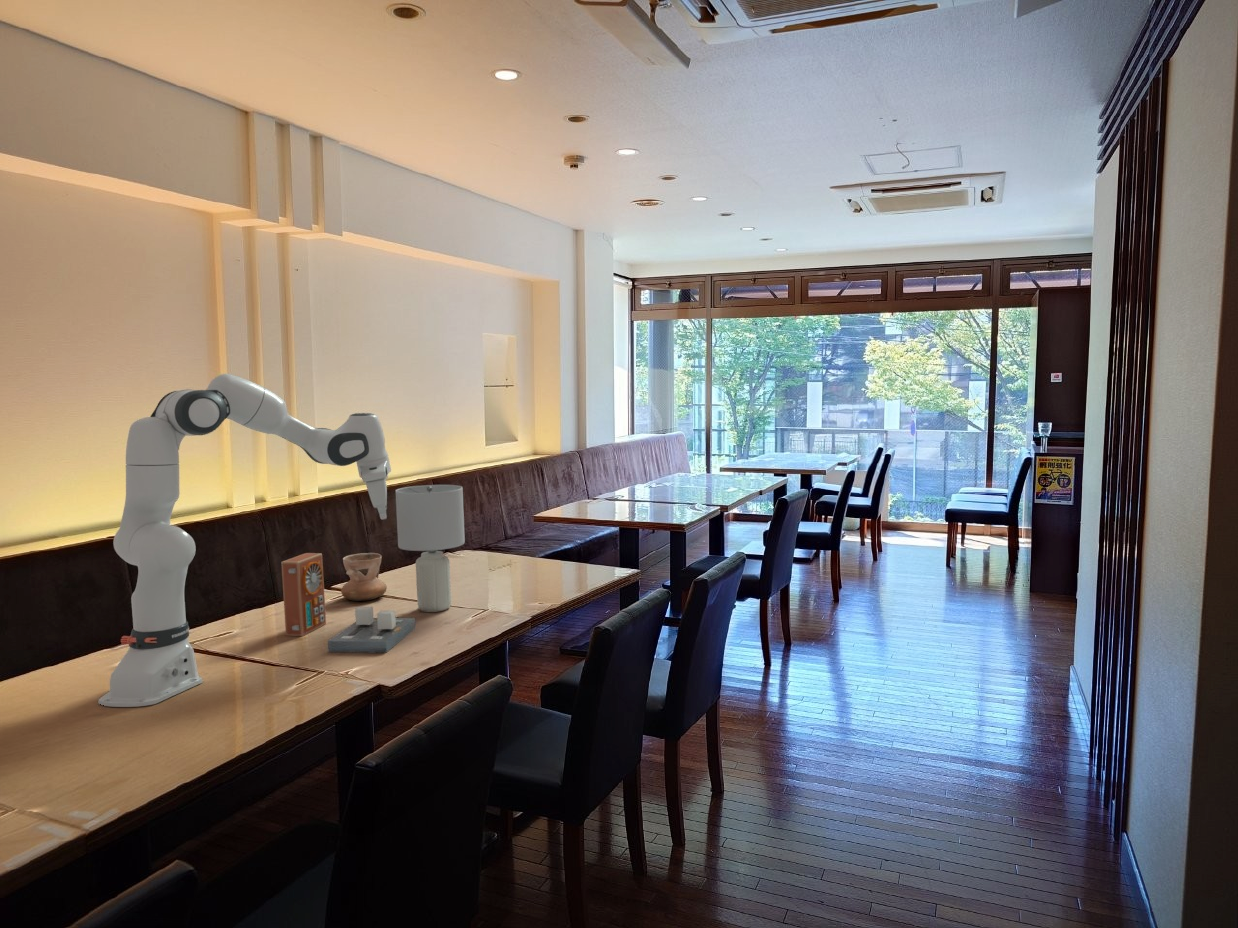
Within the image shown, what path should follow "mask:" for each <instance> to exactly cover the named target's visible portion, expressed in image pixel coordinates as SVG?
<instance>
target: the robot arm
mask: <svg viewBox="0 0 1238 928" xmlns="http://www.w3.org/2000/svg"><path fill="white" fill-rule="evenodd" d="M287 406H288V405H287V404H286V401H285V400H284V399H283V398H281V397H280V396H279V395H277V394H276V393H274V392H273V391H271V390H270V389H268V388H266V387H264V386H262V385H260V384H258V383H255V382H253V381H251V380H248V379H246V378H244V377H241V376H237V375H234V374H231V373H221V374H219V375H217V376H215V377H214V378H213V379H212V380H211V381H210V382H209V384H208V386H207V387H206V389H188V388H187V389H181V390H173V391H170V392H168V393H167V394H165V395H164V396H163V397H161V399H160V400H159V402H158V403H157V405H156V407H155V408H154V410H153V412H152V413H151V415H150V416H147V417H143V418H139V419H137V420H135V421H134V422H132V424H131V425H130V427H129V431H128V434H127V439H126V440H127V441H126V450H125V500H124V506H123V512H122V516H121V521H120V525H119V529H118V530H117V531H116V533H115V535H114V537H113V541H112V542H113V543H112V544H113V549H114V551H115V552H116V554H117V555H118V556H119V557H120V558H121V559H122V560H123V561H125V562H126V563H128V564H129V565H132V566H136V567H137V570H138V574H137V582H136V586H135V589H134V591H133V592H132V594H131V598H130V600H131V601H130V603H131V613H132V614H131V616H132V626H133V628H132V629H131V632H130V635H123V636H121V638H120V643H121V645H124V646H125V645H128V646H129V648H128V650H127V651H126V653H125V654H124V655H123V657H122V659H121V660H120V662H119V663H118V664H117V666H116V667H115V669H114V670H113V671H112V672H111V675H110V678H109V691H108V692H106V693H105V694H104V695H103V696H101V697H100V698H99V699H98V702H97V704H98V705H100V704H101V705H100V706H103V705H104V706H103V707H110V708H111V707H113V708H135V707H137V708H139V707H146V706H152V705H156V704H158V703H161V702H162V701H165V700H168V699H169V698H172V697H173V696H175V695H178V694H180V693H182V692H185V691H187V690H188V689H189V690H190V689H192V688H193V687H196V686H197V685H200V684H202V683H203V682H204V681H203V679H202V678H203V677H202V676H199V673H198V666H197V661H196V654H195V651H194V647H193V646H192V645H191V643H190V641H189V638H188V637H189V636H190V626H189V621H187V618H186V602H185V586H186V578H187V574H188V568H189V566H190V564H191V563H192V561H193V559H194V557H195V555H196V548H197V547H196V542H195V540H194V538H193V537H192V535H190V534H189V533H187V531H185V530H184V529H182V528H181V527H180V526H177V525H172V524H171V519H172V518H171V517H172V514H173V511H174V506H175V505H176V502H177V501H178V499H179V498H180V494H181V493H180V455H179V454H180V453H179V450H180V447H181V442H182V441H183V439H184V438H185V437H186V436H187V437H188V436H191V437H192V436H205V435H209V434H211V433H213V432H214V431H216V430H217V429H218V428H219V427H220V426H221V425H222V423H223V422H224V421H225V420H226V419H228V420H230V421H233V422H235V423H237V424H239V425H241V426H244V427H245V428H248V429H250V430H253V431H256V432H258V433H263V434H267V435H276V436H278V437H280V438H282V439H284V440H286V441H287V442H290V443H293V444H294V445H296V446H298V447H299V448H301V449H302V450H303V451H304V452H305V454H306V455H307V456H308V457H309V458H310V459H311V460H312V461H314V462H315V463H318V464H322V465H324V464H325V465H332V466H338V467H345V466H349V465H352V464H355V463H356V466H357V470H358V476H359V478H361V479H362V483H365V485H366V486H365V487H366V489H367V492H368V495H369V499H370V501H371V504H372V506H373V508H374V509H377V511H378V514H379V519H381V520H387V517H388V515H387V509H388V506H387V504H388V501H387V499H388V491H387V490H388V487H387V479H388V477H389V474H390V473H391V472H392V467H391V464H390V458H389V454H388V452H387V450H386V445H385V444H386V439H385V435H384V430H383V427H382V424H381V421H380V419H379V417H378V416H377V414H374V413H370V412H357V413H356V412H355V413H352V414H349V417H348V419H346V420H345V422H344V423H343V424H341V425H340V426H339V427H338V428H335V429H330V428H326V427H325V428H324V427H313V426H311V425H309V424H307V423H305V422H302V421H301V420H299V419H297V418H295V417H293V416H292V415H291V414H289V412H288V408H287Z"/></svg>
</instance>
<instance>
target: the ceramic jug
mask: <svg viewBox="0 0 1238 928" xmlns="http://www.w3.org/2000/svg"><path fill="white" fill-rule="evenodd" d="M382 559H383V558H382V555H381V554H380V553H375V552H368V553H367V552H366V553H365V552H362V553H356V554H355V553H354V554H349V555H346V556H344V557H343V558H342V562H343V566H344V569H345V571H346V572H345V574H346V575H347V576H348V577H349V579H350V580H348V581H347V582H346V583H344V584H343V586H342V587H341V591H340V592H341V595H342V597H344V598H345V599H347V600H349V601H353V602H354V601H355V602H366V601H371V600H375V599H377V598H380V597H382V596H383V595H384V594H385V593H386V592H387V588H388V587H387V584H386V583H385V582H384V581H383V580H381V579H379V574H380V567H381V564H382Z"/></svg>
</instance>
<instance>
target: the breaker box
mask: <svg viewBox="0 0 1238 928" xmlns="http://www.w3.org/2000/svg"><path fill="white" fill-rule="evenodd" d="M395 618H396V626H395V627H394V628H393V629H378V622H377V617H374V622H373V623H371V624H370V625H356V621H355V622H353V623H352V624H351V625H349V626H348V627H345V628H344V629H343V630H342V631H340V632H338V633H337V634H336V635H335V636H333V637H331V638H330V639H328V641H327V647H328V648H327V649H328V650H327V651H328V653H371V654H372V653H374V654H375V653H376V652H377V653H376V654H378V653H381V654H382V652H386V653H388V652H389V651H391V650H392V649H393V648H394V647H395V646H396V645H397V644H399V643H400V642H401V641H402V640H403V639H405V638H406V637H407V636H408V635H409V634H410V633H411V632H412V631H413V629H414V628H415V629H416V619H415V618H414V617H395ZM415 629H414V630H415ZM406 635H407V636H406ZM405 636H406V637H405ZM386 653H385V654H386Z"/></svg>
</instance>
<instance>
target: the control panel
mask: <svg viewBox="0 0 1238 928" xmlns="http://www.w3.org/2000/svg"><path fill="white" fill-rule="evenodd" d="M280 564H281V565H280V566H281V576H282V577H281V578H282V579H281V580H282V591H283V593H282V594H283V595H282V596H283V608H284V611H283V612H284V624H285V625H284V626H285V636H288V637H289V636H290V637H291V636H292V637H304V636H306V635H307V634H309V633H311V632H314V631H315V630H317V629H319V628H321V627H323V626H324V625H326V624H327V618H326V617H327V616H326V599H325V597H326V596H325V582H324V566H323V565H324V564H323V554H322V553H319V552H317V553H315V552H306V553H305V552H304V553H302V554H299V555H297V556H294V557H292V558H288V559H286V560H283V561H281V563H280Z"/></svg>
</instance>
